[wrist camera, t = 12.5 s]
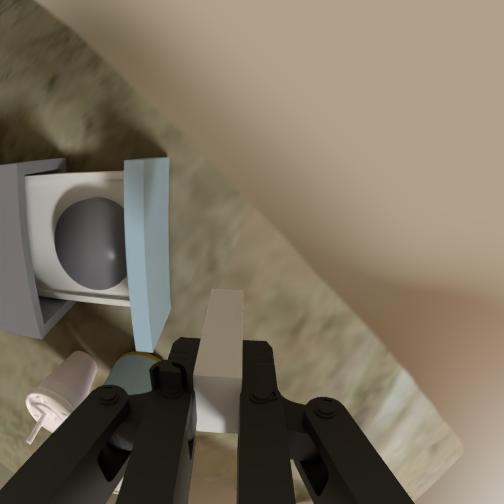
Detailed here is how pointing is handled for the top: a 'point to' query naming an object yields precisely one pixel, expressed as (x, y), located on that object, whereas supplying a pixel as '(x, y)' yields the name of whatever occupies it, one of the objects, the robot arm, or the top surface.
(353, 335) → the top surface
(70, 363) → the smoothie
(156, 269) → the light blue drawer
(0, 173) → the housing
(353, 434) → the robot arm
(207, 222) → the top surface
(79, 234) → the disc
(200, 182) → the top surface
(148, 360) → the bottle
